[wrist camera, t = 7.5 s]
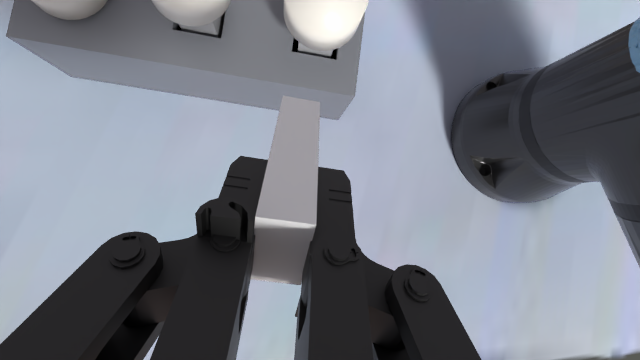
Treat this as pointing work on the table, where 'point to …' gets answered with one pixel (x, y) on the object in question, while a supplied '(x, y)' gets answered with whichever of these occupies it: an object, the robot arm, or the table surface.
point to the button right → (323, 23)
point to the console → (192, 54)
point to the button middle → (195, 15)
